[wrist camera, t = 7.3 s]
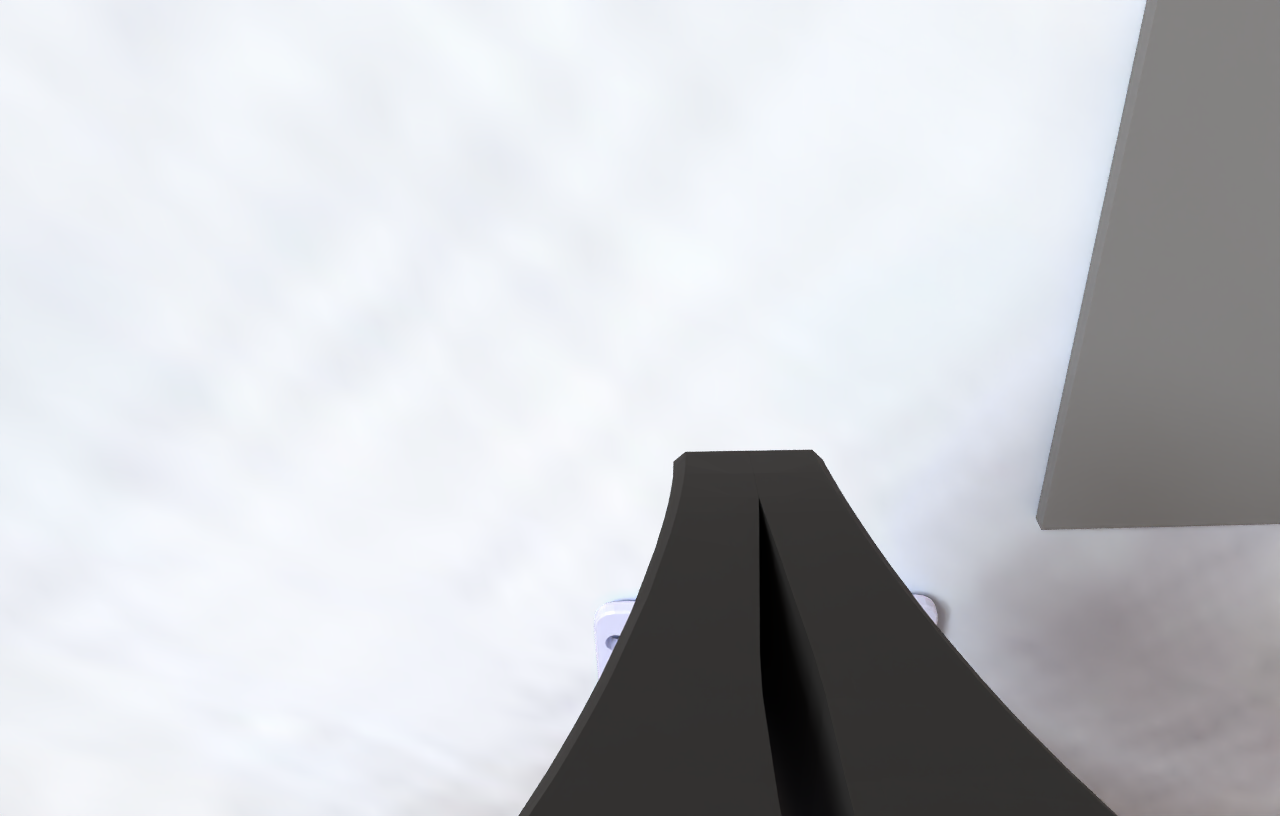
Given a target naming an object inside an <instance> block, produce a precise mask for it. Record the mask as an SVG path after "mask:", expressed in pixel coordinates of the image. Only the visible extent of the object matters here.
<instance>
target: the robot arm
mask: <svg viewBox="0 0 1280 816" xmlns="http://www.w3.org/2000/svg"><path fill="white" fill-rule="evenodd" d="M937 623H938V614H937V610H936V607H935V604H934V603H933V601H932V600H931V599H930V598H928V597H926V596H924V595H913V594H912V593H911V592H910V591H909V589H908V588H907V587H906V585H905V584H904V583H903V581H902V580H901V579H900V577H899V576H898V575H897V573H896V572H895V571H894V569H893V568H892V567H891V565H890V564H889V563H888V561H887V560H886V558H885V557H884V556H883V554H882V553H881V551H880V550H879V549H878V547H877V546H876V544H875V543H874V541H873V540H872V538H871V537H870V535H869V534H868V532H867V531H866V529H865V528H864V527H863V525H862V524H861V522H860V521H859V519H858V518H857V516H856V515H855V513H854V511H853V510H852V508H851V507H850V505H849V504H848V502H847V501H846V499H845V497H844V496H843V494H842V492H841V491H840V489H839V488H838V486H837V484H836V482H835V481H834V479H833V477H832V476H831V474H830V472H829V470H828V469H827V467H826V465H825V463H824V461H823V460H822V459H821V458H820V457H819V456H818V455H817V454H816V453H815V452H814V451H813V450H770V451H710V452H685V453H684V454H682V455H681V456H680V457H679V458H677V459H676V460H675V461H674V466H673V481H672V487H671V493H670V498H669V503H668V507H667V511H666V515H665V518H664V522H663V525H662V528H661V532H660V535H659V538H658V541H657V545H656V548H655V551H654V553H653V556H652V558H651V561H650V564H649V566H648V569H647V572H646V574H645V577H644V580H643V582H642V585H641V588H640V590H639V593H638V596H637V598H636V601H621V602H610V603H606V604H604V605H602V606H600V607H599V608H598V609H597V611H596V612H595V618H594V633H595V644H596V656H597V667H598V679H599V681H598V682H597V684H596V686H595V688H594V690H593V692H592V694H591V696H590V698H589V700H588V701H587V703H586V705H585V707H584V709H583V711H582V713H581V714H580V716H579V718H578V720H577V722H576V723H575V725H574V727H573V729H572V730H571V732H570V734H569V736H568V737H567V739H566V741H565V742H564V744H563V746H562V748H561V749H560V751H559V753H558V754H557V756H556V758H555V759H554V761H553V763H552V764H551V766H550V768H549V769H548V771H547V773H546V774H545V776H544V777H543V779H542V780H541V782H540V783H539V785H538V787H537V788H536V790H535V791H534V793H533V794H532V796H531V797H530V799H529V800H528V802H527V804H526V805H525V807H524V808H523V810H522V811H521V813H520V814H519V816H1117V815H1116V814H1115V813H1114V812H1113V811H1112V810H1111V809H1110V808H1109V807H1108V806H1107V805H1105V804H1104V803H1103V802H1102V801H1101V800H1100V799H1099V798H1098V797H1097V796H1096V795H1095V794H1094V793H1093V792H1092V791H1091V790H1090V789H1088V788H1087V787H1086V786H1085V785H1084V784H1083V783H1082V782H1081V781H1080V780H1079V779H1078V778H1077V777H1076V776H1075V775H1074V774H1073V773H1071V772H1070V771H1069V770H1068V769H1067V768H1066V767H1065V766H1064V765H1063V764H1062V763H1061V762H1060V761H1059V760H1058V759H1057V758H1056V757H1055V756H1054V755H1053V754H1052V753H1051V752H1050V751H1049V750H1048V749H1047V748H1046V747H1045V746H1044V745H1043V744H1042V743H1041V742H1040V741H1039V740H1038V739H1037V738H1036V737H1035V736H1034V735H1033V734H1032V733H1031V732H1030V731H1029V730H1028V729H1027V728H1026V727H1025V726H1024V724H1023V723H1022V722H1021V721H1020V720H1019V719H1018V718H1017V717H1016V716H1015V715H1014V714H1013V713H1012V712H1011V711H1010V710H1009V709H1008V707H1007V706H1006V705H1005V704H1004V703H1003V702H1002V701H1001V700H1000V699H999V698H998V697H997V695H996V694H995V693H994V692H993V691H992V690H991V689H990V688H989V687H988V685H987V684H986V683H985V682H984V681H983V680H982V679H981V678H980V676H979V675H978V674H977V673H976V672H975V671H974V669H973V668H972V667H971V666H970V665H969V664H968V662H967V661H966V660H965V659H964V658H963V657H962V655H961V654H960V653H959V652H958V651H957V650H956V648H955V647H954V646H953V645H952V644H951V643H950V641H949V640H948V639H947V638H946V637H945V635H944V634H943V633H942V632H941V630H940V629H939V628H938V627H937ZM613 635H619V638H618V639H616V638H611V637H610V636H613Z"/></svg>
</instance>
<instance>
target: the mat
mask: <svg viewBox="0 0 1280 816" xmlns="http://www.w3.org/2000/svg"><path fill="white" fill-rule="evenodd" d="M1036 519H1037V522H1038V524H1039V526H1040V528H1041V530H1052V529H1092V528H1131V527H1171V526H1211V525H1251V524H1280V0H1147V2H1146V7H1145V11H1144V16H1143V21H1142V25H1141V30H1140V35H1139V39H1138V44H1137V49H1136V53H1135V58H1134V63H1133V67H1132V72H1131V77H1130V81H1129V86H1128V91H1127V95H1126V100H1125V105H1124V109H1123V114H1122V119H1121V123H1120V128H1119V133H1118V137H1117V142H1116V147H1115V151H1114V156H1113V161H1112V165H1111V170H1110V175H1109V179H1108V184H1107V189H1106V193H1105V198H1104V203H1103V207H1102V212H1101V217H1100V221H1099V226H1098V231H1097V235H1096V240H1095V245H1094V249H1093V254H1092V259H1091V263H1090V268H1089V273H1088V277H1087V282H1086V287H1085V291H1084V296H1083V301H1082V305H1081V310H1080V315H1079V319H1078V324H1077V329H1076V333H1075V338H1074V343H1073V347H1072V352H1071V357H1070V361H1069V366H1068V371H1067V375H1066V380H1065V384H1064V389H1063V394H1062V398H1061V403H1060V408H1059V412H1058V417H1057V422H1056V426H1055V431H1054V436H1053V440H1052V445H1051V450H1050V454H1049V459H1048V464H1047V468H1046V473H1045V478H1044V482H1043V487H1042V492H1041V496H1040V501H1039V506H1038V510H1037V515H1036Z"/></svg>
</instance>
